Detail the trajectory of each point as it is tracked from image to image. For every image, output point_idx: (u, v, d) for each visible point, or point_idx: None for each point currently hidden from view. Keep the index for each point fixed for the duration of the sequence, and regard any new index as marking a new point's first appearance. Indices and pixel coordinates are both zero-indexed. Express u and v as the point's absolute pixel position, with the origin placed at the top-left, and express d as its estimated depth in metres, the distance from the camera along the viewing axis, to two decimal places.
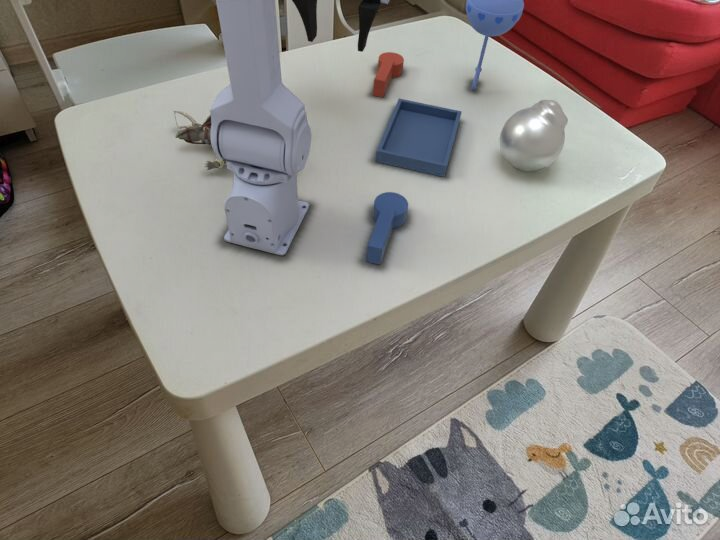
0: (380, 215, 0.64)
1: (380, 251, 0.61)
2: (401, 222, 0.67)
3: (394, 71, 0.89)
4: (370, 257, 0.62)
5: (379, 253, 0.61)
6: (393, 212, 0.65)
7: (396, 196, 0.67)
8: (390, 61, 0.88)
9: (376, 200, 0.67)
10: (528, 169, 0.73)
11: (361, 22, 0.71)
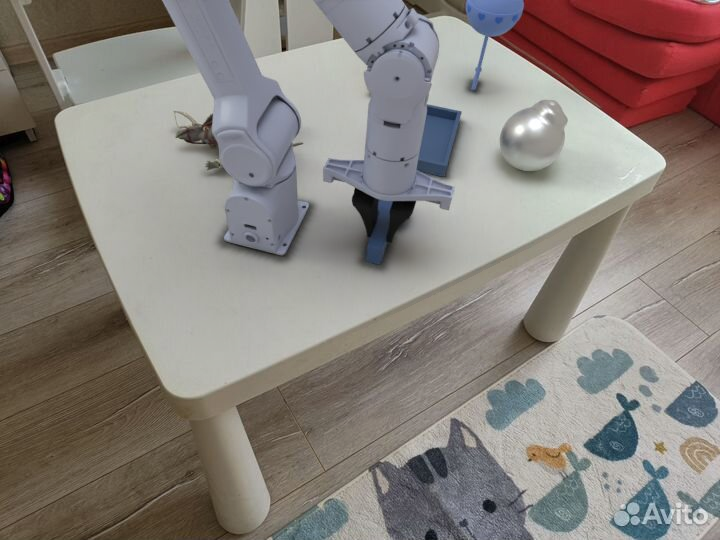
0: (380, 215, 0.64)
1: (380, 251, 0.61)
2: None
3: None
4: (369, 257, 0.62)
5: (379, 253, 0.61)
6: None
7: None
8: None
9: None
10: (528, 169, 0.73)
11: (392, 221, 0.59)
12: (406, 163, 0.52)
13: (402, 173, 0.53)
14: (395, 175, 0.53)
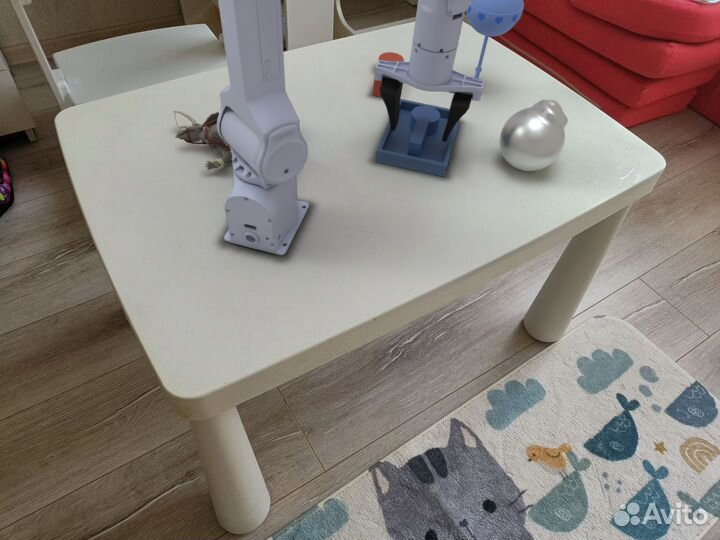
0: (417, 121, 0.77)
1: (419, 147, 0.73)
2: (434, 129, 0.79)
3: None
4: (410, 154, 0.75)
5: (418, 149, 0.74)
6: (428, 119, 0.77)
7: (429, 108, 0.80)
8: None
9: (413, 111, 0.79)
10: (528, 169, 0.73)
11: (450, 117, 0.70)
12: (447, 55, 0.64)
13: (443, 65, 0.65)
14: (437, 66, 0.65)
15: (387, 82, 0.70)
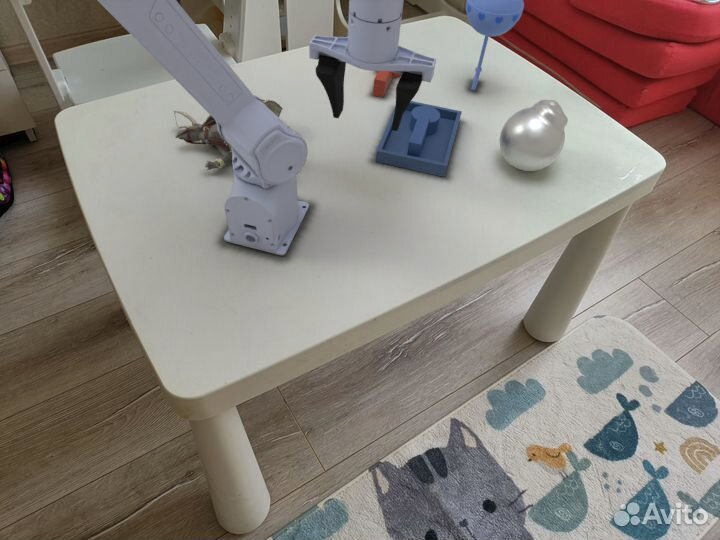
0: (417, 121, 0.77)
1: (419, 147, 0.73)
2: (434, 129, 0.79)
3: None
4: (410, 154, 0.75)
5: (418, 149, 0.74)
6: (428, 119, 0.77)
7: (429, 108, 0.80)
8: None
9: (413, 111, 0.79)
10: (528, 169, 0.73)
11: (398, 102, 0.61)
12: (388, 26, 0.54)
13: (384, 38, 0.55)
14: (377, 40, 0.55)
15: (324, 61, 0.60)
